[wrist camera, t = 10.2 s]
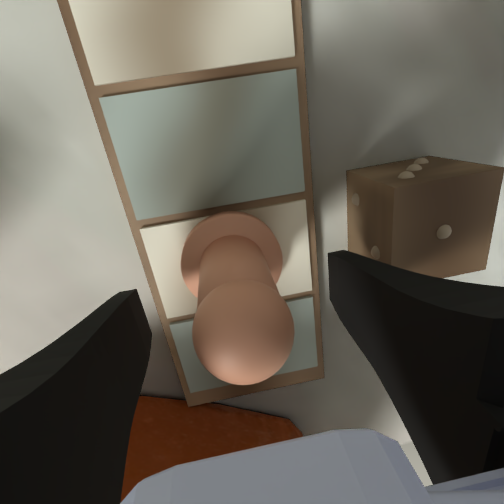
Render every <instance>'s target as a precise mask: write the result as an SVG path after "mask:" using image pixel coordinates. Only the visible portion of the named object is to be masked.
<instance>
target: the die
mask: <svg viewBox="0 0 504 504" xmlns="http://www.w3.org/2000/svg"><path fill="white" fill-rule="evenodd" d="M503 173H504V167H497V166H491V165H485V164H478V163H472V162H465V161H459V160H453V159H446V158H440V157H433V156H426V157H421V158H415V159H409V160H404V161H398V162H392V163H387V164H381V165H375V166H370V167H364V168H358V169H353V170H347V171H346V176H347V222H348V251H350V252H353V253H356V254H359V255H362V256H365V257H368V258H371V259H374V260H377V261H380V262H383V263H386V264H389V265H392V266H395V267H398V268H402V269H405V270H409V271H412V272H416V273H420V274H424V275H428V276H433V277H438V278H446V277H450V276H455V275H460V274H465V273H470V272H475V271H480V270H485V269H486V264H487V259H488V254H489V248H490V243H491V238H492V232H493V227H494V222H495V216H496V211H497V206H498V200H499V195H500V189H501V184H502V179H503Z"/></svg>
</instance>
